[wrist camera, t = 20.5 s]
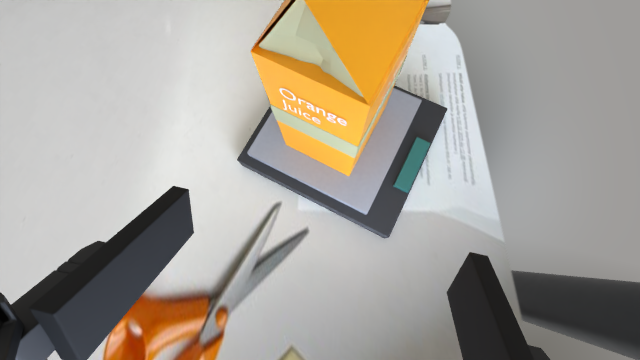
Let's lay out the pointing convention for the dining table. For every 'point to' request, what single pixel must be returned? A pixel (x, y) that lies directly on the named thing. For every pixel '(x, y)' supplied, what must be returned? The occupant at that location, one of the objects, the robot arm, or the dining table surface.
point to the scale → (369, 171)
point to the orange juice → (334, 71)
